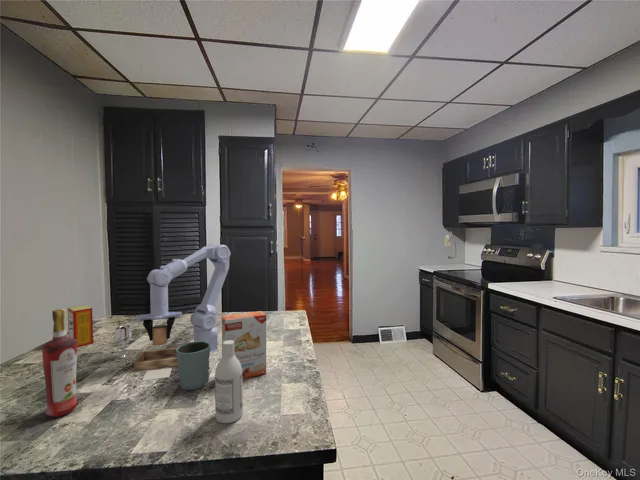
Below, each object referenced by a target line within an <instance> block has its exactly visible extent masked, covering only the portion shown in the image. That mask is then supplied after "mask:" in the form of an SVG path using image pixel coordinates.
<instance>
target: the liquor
mask: <svg viewBox="0 0 640 480" xmlns="http://www.w3.org/2000/svg"><path fill="white" fill-rule="evenodd" d="M65 319H66V309H65V308H60V309H55V310H52V321H53V327H52V339H51V340H48V341H47V342H46V343H45V344H43V345H42V346H41V352H42V353H41V355H42V365H43V373H44V374H43V376H44V381H45V382H44V383H45V391H46V410H45V411H44V413H45V415H47V416H49V417H52V418H60V417H64V416H66V415H68V414H70V413H71V412H72V411H73V410H74V409H75V408H76V407H78V405H79V402H78V400H77V365H78V347H77V340H76V339H74V338H71V337H69V336H68V334H67V328H66V322H65Z"/></svg>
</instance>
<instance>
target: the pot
mask: <svg viewBox="0 0 640 480" xmlns="http://www.w3.org/2000/svg"><path fill="white" fill-rule="evenodd" d="M151 342H152V343H151V344H152V346H163V345H166V344H167V343H169V339H167V324H163V323H162V324H156V325H153V327H152V341H151Z"/></svg>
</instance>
